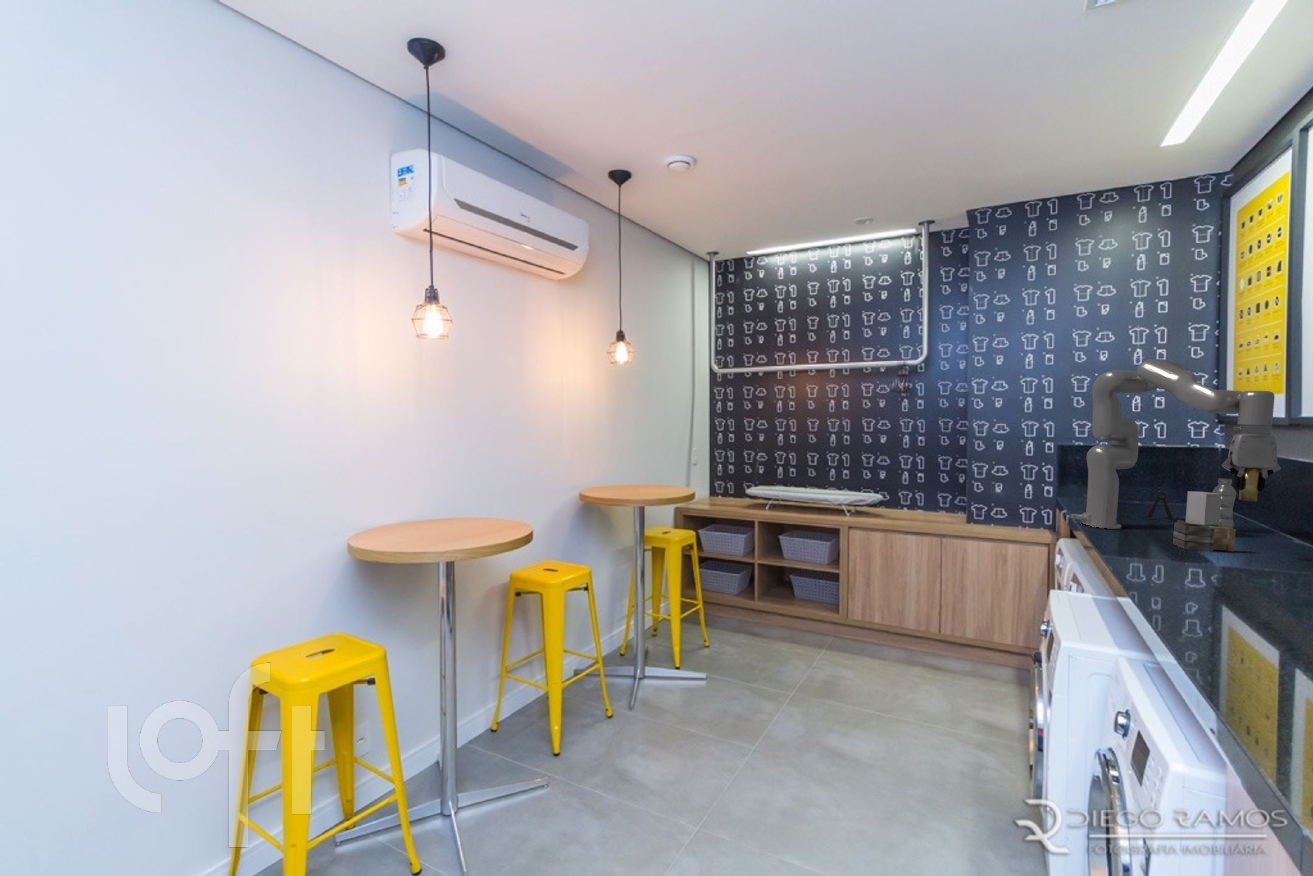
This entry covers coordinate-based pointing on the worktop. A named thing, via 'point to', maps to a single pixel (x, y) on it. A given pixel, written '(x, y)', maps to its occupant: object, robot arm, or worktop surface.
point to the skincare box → (1203, 508)
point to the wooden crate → (1213, 538)
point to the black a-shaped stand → (1167, 508)
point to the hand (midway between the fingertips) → (1248, 489)
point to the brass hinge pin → (1250, 484)
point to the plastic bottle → (1226, 501)
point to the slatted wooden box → (1193, 530)
